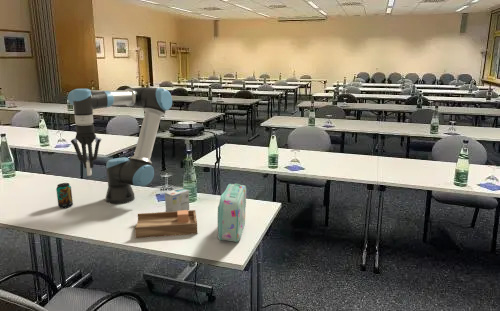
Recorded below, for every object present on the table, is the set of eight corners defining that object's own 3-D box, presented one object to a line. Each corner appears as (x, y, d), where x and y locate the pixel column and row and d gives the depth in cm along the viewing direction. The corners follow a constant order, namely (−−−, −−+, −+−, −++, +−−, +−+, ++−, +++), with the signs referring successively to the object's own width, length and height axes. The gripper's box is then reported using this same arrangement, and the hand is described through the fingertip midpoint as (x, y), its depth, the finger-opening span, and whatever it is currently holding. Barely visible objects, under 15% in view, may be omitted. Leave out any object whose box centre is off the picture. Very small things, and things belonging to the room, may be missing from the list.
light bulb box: (182, 206, 212) (181, 187, 209) (189, 209, 207) (189, 190, 204) (165, 211, 205) (164, 191, 202) (172, 215, 200) (171, 195, 197)
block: (177, 218, 190) (177, 210, 189) (188, 217, 191) (188, 210, 190) (177, 222, 185) (177, 214, 184) (188, 222, 186) (188, 214, 185)
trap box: (138, 223, 190) (137, 213, 189) (195, 219, 195) (195, 210, 194) (135, 238, 175) (134, 227, 174) (197, 233, 180) (197, 223, 178)
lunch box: (226, 219, 195) (225, 178, 190) (246, 220, 194) (247, 178, 189) (215, 245, 170) (215, 197, 164) (239, 246, 169) (239, 198, 163)
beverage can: (67, 209, 207) (64, 187, 204) (55, 208, 208) (52, 186, 205) (75, 204, 213) (73, 183, 210) (64, 203, 215) (61, 182, 212)
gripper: (66, 125, 173) (72, 177, 179) (98, 125, 175) (103, 176, 181) (71, 122, 180) (76, 173, 186) (101, 122, 182) (105, 171, 188)
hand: (89, 174), depth 183 cm, fingers closed
